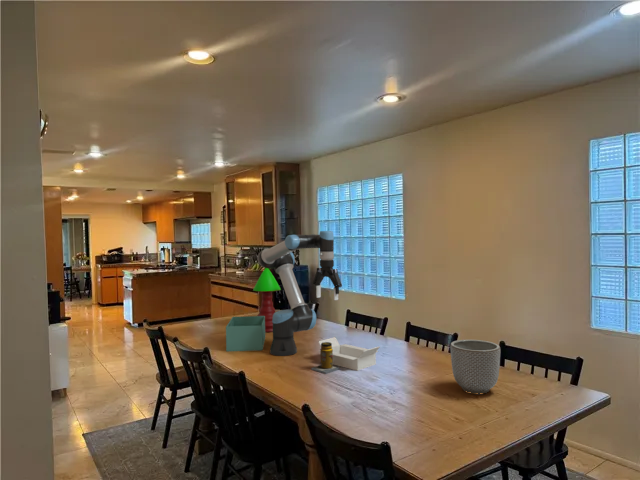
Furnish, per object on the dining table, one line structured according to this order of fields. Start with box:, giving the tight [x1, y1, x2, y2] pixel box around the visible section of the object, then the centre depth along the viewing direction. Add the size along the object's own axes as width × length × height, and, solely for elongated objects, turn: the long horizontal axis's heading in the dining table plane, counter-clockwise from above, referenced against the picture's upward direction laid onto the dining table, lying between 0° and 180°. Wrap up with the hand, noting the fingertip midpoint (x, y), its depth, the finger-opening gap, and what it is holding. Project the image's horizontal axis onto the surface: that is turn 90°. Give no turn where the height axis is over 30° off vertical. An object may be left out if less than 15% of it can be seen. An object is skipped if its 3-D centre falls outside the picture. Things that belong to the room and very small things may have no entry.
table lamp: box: [252, 268, 282, 333], centre depth 314 cm, size 20×20×45 cm
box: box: [225, 315, 266, 352], centre depth 272 cm, size 21×32×14 cm, turn 4°
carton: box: [317, 336, 381, 372], centre depth 229 cm, size 31×20×10 cm, turn 45°
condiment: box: [314, 342, 337, 371], centre depth 218 cm, size 7×8×12 cm
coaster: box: [310, 364, 341, 375], centre depth 218 cm, size 10×10×1 cm
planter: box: [449, 339, 501, 395], centre depth 185 cm, size 20×20×19 cm
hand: (327, 298), depth 240 cm, fingers open, 13 cm apart
